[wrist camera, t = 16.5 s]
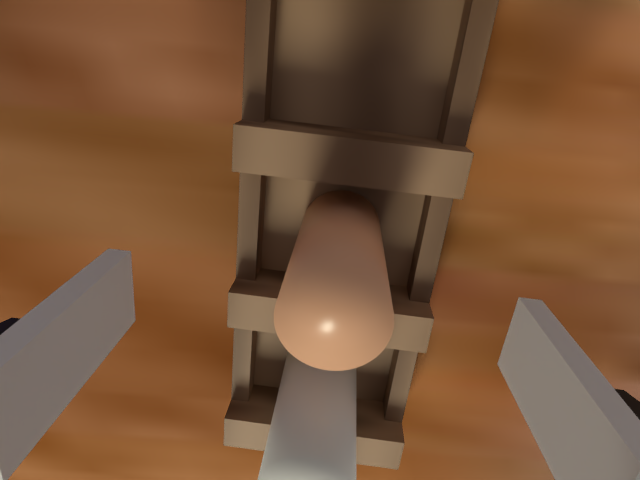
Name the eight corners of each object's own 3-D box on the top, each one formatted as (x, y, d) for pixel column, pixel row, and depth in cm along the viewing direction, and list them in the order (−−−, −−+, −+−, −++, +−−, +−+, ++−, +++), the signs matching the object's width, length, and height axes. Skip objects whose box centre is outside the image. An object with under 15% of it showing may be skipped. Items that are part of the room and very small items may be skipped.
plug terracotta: (299, 257, 24) (270, 363, 15) (306, 185, 22) (277, 259, 14) (373, 266, 24) (384, 377, 15) (385, 194, 22) (403, 274, 14)
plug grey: (287, 376, 27) (256, 521, 19) (289, 321, 25) (256, 451, 17) (353, 383, 27) (352, 531, 18) (359, 327, 25) (360, 462, 17)
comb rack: (240, 396, 29) (223, 445, 25) (262, -77, 19) (240, -110, 15) (392, 416, 29) (398, 469, 25) (494, -52, 19) (529, -80, 15)
